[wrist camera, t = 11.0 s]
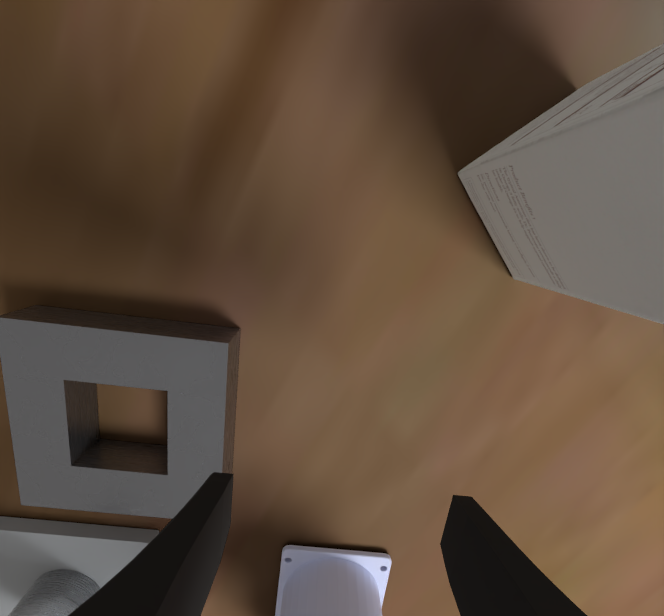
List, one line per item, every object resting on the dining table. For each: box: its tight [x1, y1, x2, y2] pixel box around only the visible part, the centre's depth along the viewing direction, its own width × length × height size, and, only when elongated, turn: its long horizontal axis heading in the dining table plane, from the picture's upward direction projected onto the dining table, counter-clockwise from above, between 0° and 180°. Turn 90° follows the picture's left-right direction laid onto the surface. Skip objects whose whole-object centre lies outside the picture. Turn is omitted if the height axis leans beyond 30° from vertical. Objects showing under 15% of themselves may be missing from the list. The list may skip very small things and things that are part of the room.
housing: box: [0, 305, 241, 519], centre depth 20 cm, size 12×12×2 cm
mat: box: [0, 516, 159, 616], centre depth 25 cm, size 12×12×1 cm
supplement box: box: [458, 44, 664, 324], centre depth 12 cm, size 7×7×13 cm
